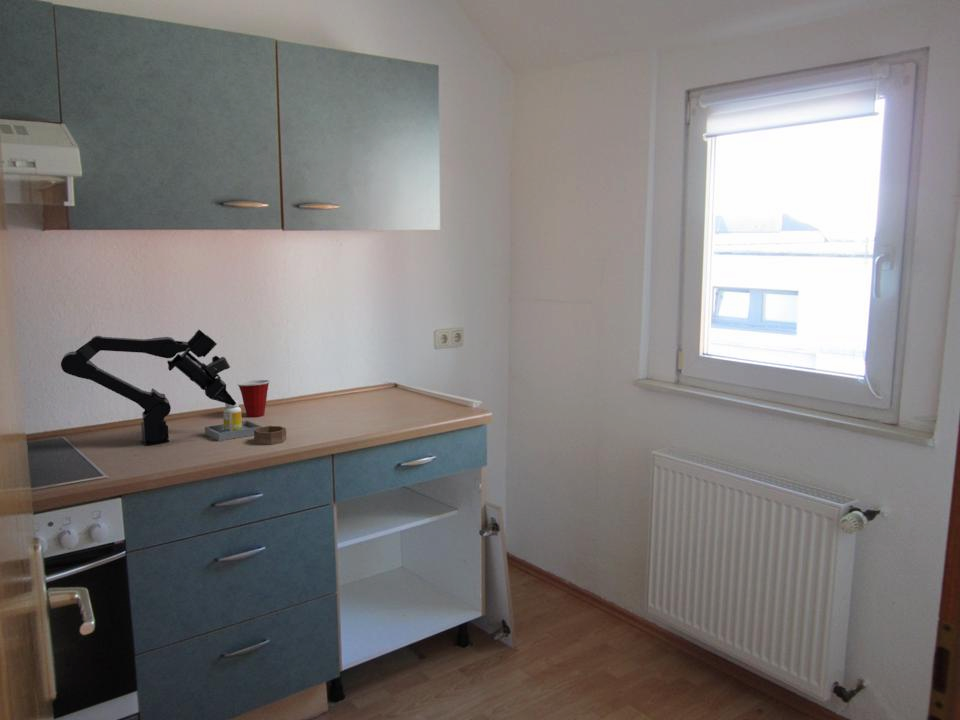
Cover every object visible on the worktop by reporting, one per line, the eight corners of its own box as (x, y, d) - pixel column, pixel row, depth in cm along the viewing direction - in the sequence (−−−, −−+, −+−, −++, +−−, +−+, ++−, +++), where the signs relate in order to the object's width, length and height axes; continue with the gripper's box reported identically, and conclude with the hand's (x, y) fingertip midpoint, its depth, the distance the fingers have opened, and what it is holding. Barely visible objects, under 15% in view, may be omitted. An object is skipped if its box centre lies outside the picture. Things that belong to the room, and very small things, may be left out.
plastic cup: (255, 410, 271) (254, 377, 269) (278, 414, 265) (276, 380, 263) (231, 416, 261) (230, 382, 260) (254, 420, 256) (252, 385, 254)
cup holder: (263, 446, 224) (262, 434, 223) (250, 440, 230) (250, 429, 230) (290, 441, 230) (289, 429, 229) (277, 435, 236) (276, 424, 235)
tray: (219, 441, 229) (218, 433, 229) (205, 434, 238) (204, 426, 237) (262, 433, 238) (262, 426, 238) (247, 427, 247) (247, 420, 246)
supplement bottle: (222, 433, 235) (220, 403, 233) (226, 429, 240) (224, 399, 239) (240, 433, 235) (238, 402, 234) (243, 429, 241) (242, 399, 239)
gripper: (216, 353, 223) (256, 387, 230) (208, 345, 240) (246, 377, 246) (188, 381, 221) (230, 415, 228) (183, 371, 238) (221, 403, 244)
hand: (232, 401), depth 236 cm, fingers open, 9 cm apart
